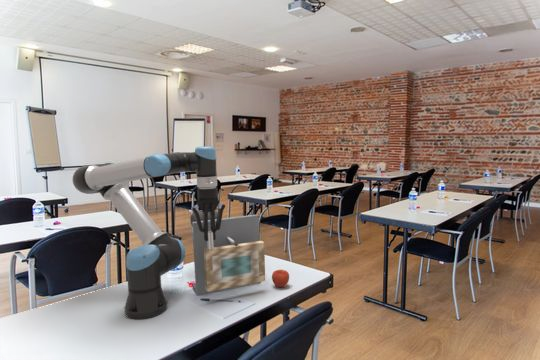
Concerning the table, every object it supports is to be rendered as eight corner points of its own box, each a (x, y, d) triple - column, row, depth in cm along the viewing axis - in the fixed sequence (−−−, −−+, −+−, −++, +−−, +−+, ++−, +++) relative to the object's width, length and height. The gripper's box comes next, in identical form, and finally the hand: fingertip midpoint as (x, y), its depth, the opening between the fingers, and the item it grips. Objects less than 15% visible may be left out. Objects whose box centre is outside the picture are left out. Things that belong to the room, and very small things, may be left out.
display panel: (201, 302, 142) (197, 226, 139) (192, 288, 156) (189, 219, 153) (267, 288, 153) (264, 218, 150) (253, 276, 167) (251, 212, 164)
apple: (285, 282, 160) (285, 264, 159) (292, 288, 153) (291, 270, 152) (269, 284, 158) (269, 266, 157) (275, 291, 151) (274, 272, 150)
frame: (208, 292, 139) (205, 247, 137) (205, 289, 142) (203, 244, 140) (265, 281, 149) (264, 239, 147) (262, 278, 152) (261, 236, 150)
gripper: (191, 190, 131) (195, 253, 134) (227, 187, 137) (230, 248, 139) (187, 188, 138) (191, 248, 141) (221, 185, 144) (224, 243, 146)
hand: (210, 248), depth 140 cm, fingers closed
